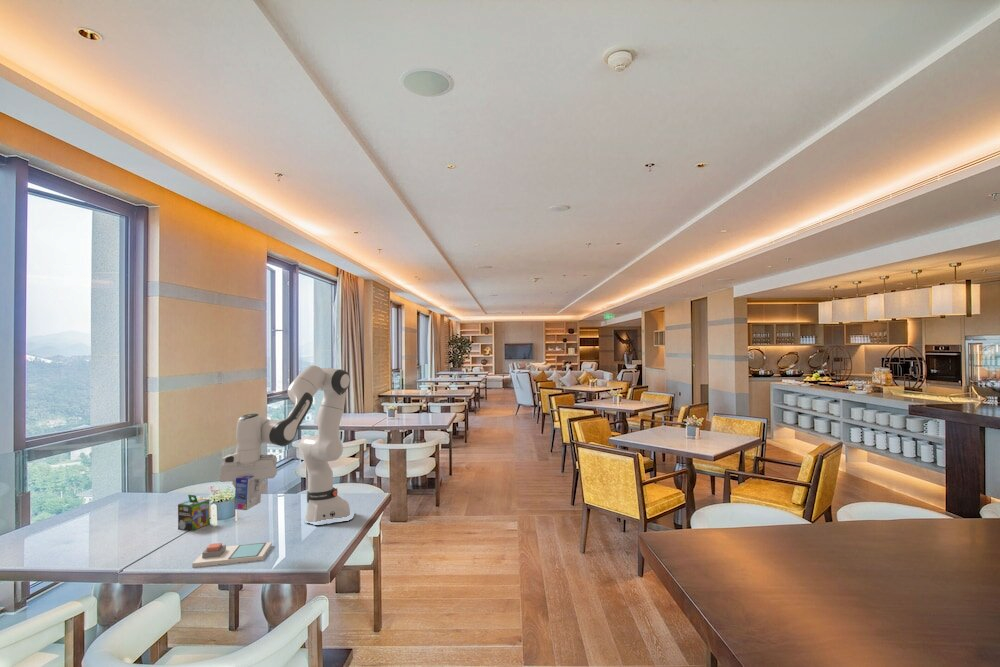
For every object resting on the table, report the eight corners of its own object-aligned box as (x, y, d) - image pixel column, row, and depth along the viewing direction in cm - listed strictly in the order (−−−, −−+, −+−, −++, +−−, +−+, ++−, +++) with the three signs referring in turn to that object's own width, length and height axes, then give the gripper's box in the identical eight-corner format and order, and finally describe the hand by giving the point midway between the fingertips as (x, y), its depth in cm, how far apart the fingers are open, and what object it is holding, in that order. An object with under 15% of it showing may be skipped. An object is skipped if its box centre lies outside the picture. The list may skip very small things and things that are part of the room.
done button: (221, 548, 185) (221, 542, 186) (218, 552, 182) (218, 546, 182) (210, 549, 185) (210, 543, 185) (206, 553, 181) (206, 548, 181)
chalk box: (210, 524, 220) (210, 492, 221) (191, 531, 212) (192, 498, 212) (195, 522, 223) (196, 490, 224) (176, 529, 215) (177, 496, 215)
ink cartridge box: (247, 501, 192) (250, 465, 192) (261, 502, 191) (263, 466, 192) (232, 509, 182) (235, 471, 182) (246, 510, 181) (249, 472, 182)
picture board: (271, 545, 194) (271, 537, 194) (262, 560, 180) (262, 550, 180) (206, 552, 189) (206, 543, 189) (192, 567, 175) (192, 557, 175)
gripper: (278, 452, 193) (278, 486, 192) (223, 455, 188) (223, 490, 188) (275, 455, 186) (275, 491, 186) (217, 459, 182) (217, 495, 181)
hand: (248, 491), depth 187 cm, fingers closed on ink cartridge box, 6 cm apart
